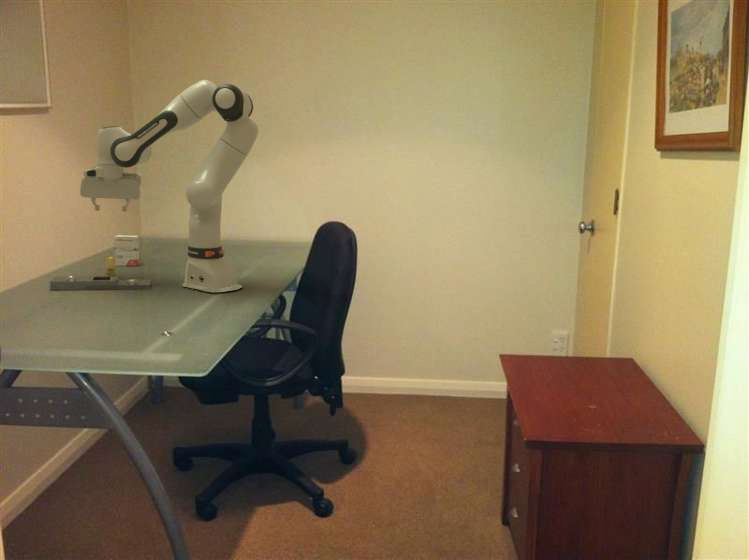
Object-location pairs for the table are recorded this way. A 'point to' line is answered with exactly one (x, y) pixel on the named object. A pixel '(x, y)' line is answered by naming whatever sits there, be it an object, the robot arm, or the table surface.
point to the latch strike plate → (96, 283)
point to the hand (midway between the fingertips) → (111, 210)
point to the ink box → (126, 250)
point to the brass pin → (110, 266)
